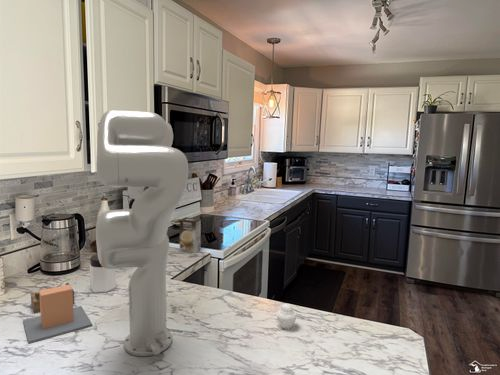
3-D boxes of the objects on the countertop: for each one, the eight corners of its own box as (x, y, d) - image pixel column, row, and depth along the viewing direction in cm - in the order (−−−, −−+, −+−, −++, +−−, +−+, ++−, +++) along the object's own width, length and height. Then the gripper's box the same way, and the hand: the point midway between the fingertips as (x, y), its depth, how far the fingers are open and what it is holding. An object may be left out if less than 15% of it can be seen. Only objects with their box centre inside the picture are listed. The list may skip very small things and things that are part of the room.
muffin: (279, 332, 103) (279, 309, 102) (273, 321, 109) (274, 300, 108) (299, 330, 104) (300, 308, 103) (292, 320, 110) (293, 298, 109)
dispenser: (75, 304, 117) (74, 290, 116) (34, 313, 110) (33, 299, 109) (69, 295, 124) (69, 282, 123) (31, 303, 117) (30, 290, 116)
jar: (118, 289, 129) (117, 257, 128) (95, 295, 124) (94, 262, 123) (110, 281, 136) (109, 251, 135) (88, 286, 131) (87, 255, 130)
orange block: (73, 321, 105) (72, 289, 104) (43, 329, 100) (41, 295, 99) (71, 315, 108) (69, 284, 107) (41, 323, 103) (39, 290, 102)
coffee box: (178, 251, 176) (178, 219, 174) (184, 247, 182) (184, 217, 180) (195, 253, 173) (195, 221, 171) (201, 249, 179) (201, 218, 177)
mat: (92, 325, 104) (92, 324, 104) (28, 343, 94) (28, 341, 94) (81, 307, 115) (81, 305, 115) (23, 322, 105) (23, 320, 105)
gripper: (163, 166, 108) (163, 220, 110) (139, 162, 121) (139, 211, 123) (139, 166, 103) (140, 224, 105) (117, 163, 116) (118, 214, 118)
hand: (140, 217), depth 114 cm, fingers open, 9 cm apart
